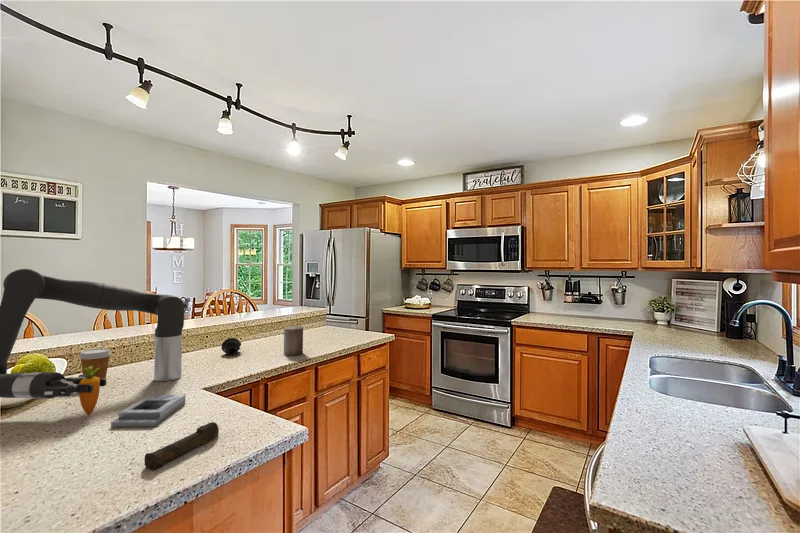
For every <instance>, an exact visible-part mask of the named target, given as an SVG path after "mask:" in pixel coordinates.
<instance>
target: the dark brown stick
mask: <svg viewBox="0 0 800 533" xmlns="http://www.w3.org/2000/svg"><path fill="white" fill-rule="evenodd" d="M219 432H220V430H219V426H218V423H217V422H215V421H213V422H207V423H206V424H204V425H201V426H199V427H198V428H196V432H193V433H191V434H189V435H187V436H185V437H183V438H181V439H179V440H177V441H175V442H172V443H170V444H168V445H166V446H164V447H162V448H159V449H157V450H155V451H152V452H149V453H148V452H147V453H145V455H144V467H145V469H147V470H149V471H152V472H153V471H155V470H156V469H157V468H162V466H163V465H164V464H166V463H168V462H169V461H172V460H173V459H175V458H177V457H179V456H181V455H183V454H185V453H187V452H189V451H190V450H191V451H192V450H193V449H194V448H197V447H199V446H201V447H202V446H205V445H207V444H209V443H210V442H212V441H213V440H215V439H216V438H217V437H218V436H219Z"/></svg>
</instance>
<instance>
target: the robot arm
mask: <svg viewBox="0 0 800 533" xmlns="http://www.w3.org/2000/svg"><path fill="white" fill-rule="evenodd" d="M2 285H3V286H2V287H3V293H2V299H1V302H0V398H2V399H3V398H4V399H5V398H6V399H25V400H29V399H30V400H32V399H33V400H34V399H35V400H36V399H37V400H40V399H41V400H42V399H45V400H47V399H51V400H52V399H54V398H57V397H58V398H59V397H69V396H71V394H72V395H77V394H79V393H90V392H92V391H93V385H79V382H80V381H81V380H82V379H83V378H87V375H83V374H79V375H78V376H77V377H73V376H67V377H65V376H64V374H63V373H61V372H29V373H28V372H27V373H25V372H22V373H18V372H15V373H8V361H9V357H10V355H11V353H12V351H13V348H14V345H15V344H16V341H17V338H18V335H19V332H20V330H21V327H22V326H23V325H22V324H23V322H24V319H25V318H26V316H27V313H28V311H29V309H30V307H31V306H32V304H33V303H34V302H35V300H36V299H39V300H51V301H58V302H59V301H60V302H64V303H68V304H72V305H76V306H81V307H85V308H92V309H98V310H105V311H119V312H121V311H125V312H127V311H133V312H134V311H135V312H136V311H137V312H140V313H141V312H143V313H147V314H152V315H155V316H157V320H156V321H157V323H156V327H155V330H154V355H153V356H154V357H153V358H154V361H153V362H154V363H153V364H154V365H153V366H154V367H153V368H154V369H153V380H154V381H156V382H169V381H174V380H178V379H180V378H181V377H182V363H183V362H182V357H183V353H182V348H183V347H182V343H183V342H182V341H183V340H182V337H183V328H184V324H185V303H184V301H183V300H182V298H180V297H179V296H177V295H172V294H162V293H160V294H158V293H148V292H141V291H138V290H135V289H132V288H128V287H124V286H119V285H116V284H110V283H104V282H96V281H90V280H88V281H87V280H71V279H63V278H57V277H53V276H48V275H45V274H41V273H40V272H39V271H37V270H35V269H31V268H21V269H20V268H19V269H16V270H14V271H12V272H10V273H9V274H7V276H5V278H4V280H3V281H2ZM93 377H96V376H93ZM106 385H107V378H106V379H100V387H105V386H106Z"/></svg>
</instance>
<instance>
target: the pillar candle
mask: <svg viewBox="0 0 800 533" xmlns="http://www.w3.org/2000/svg"><path fill="white" fill-rule="evenodd" d="M303 348H304V327H303V326H301V325H291V326H285V327H283V355H284V356H287V357H289V356H300V355H301V356H302V355H303V353H304V351H303Z"/></svg>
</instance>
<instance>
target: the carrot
mask: <svg viewBox="0 0 800 533" xmlns="http://www.w3.org/2000/svg"><path fill="white" fill-rule="evenodd" d="M92 369H93V366H90V367H88V369H87V368H85V369H84V371H85V373H86V375H87V378H83V379H82V380H81V381H80V382H79V385H93V391H92V392H90V393H78V394H79V402H80V405H81V407H82V409H83V411H84V413H85V414H86V415H88V416H90V415H91V414H92V413H93V412H94V410H95V409H96V406H97V403H98V401H99V397H100V396H99V395H100V387H101V386H100V378H98V377H93V376H94V374H95V373H96V372H97V371H98V370H99V369H100V368H97V369H95V370H94V372H93V371H92Z"/></svg>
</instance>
